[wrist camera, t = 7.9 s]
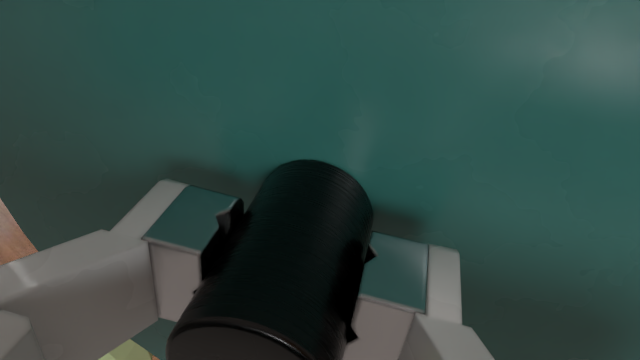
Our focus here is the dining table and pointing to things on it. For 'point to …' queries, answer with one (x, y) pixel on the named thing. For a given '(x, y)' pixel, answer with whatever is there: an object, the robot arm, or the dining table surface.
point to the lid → (345, 156)
